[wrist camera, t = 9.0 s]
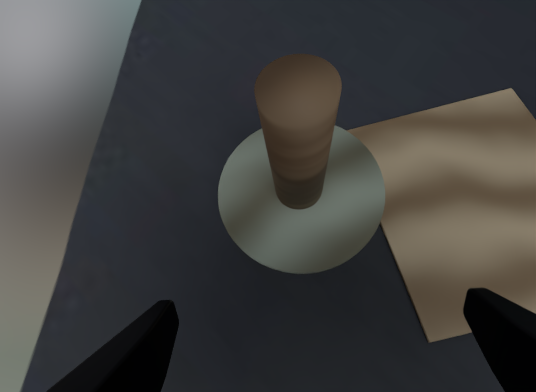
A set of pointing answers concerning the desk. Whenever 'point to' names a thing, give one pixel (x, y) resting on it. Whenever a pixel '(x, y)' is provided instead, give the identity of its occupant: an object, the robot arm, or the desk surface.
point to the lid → (300, 175)
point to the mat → (459, 204)
